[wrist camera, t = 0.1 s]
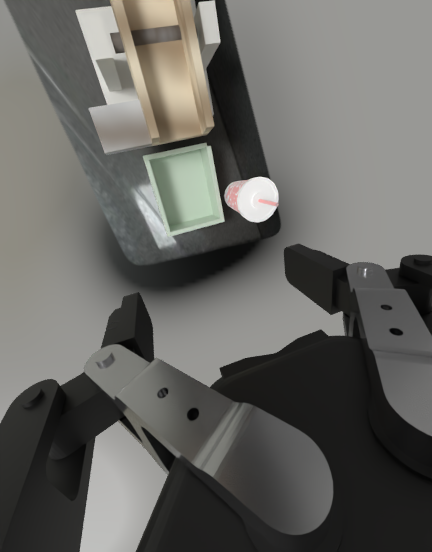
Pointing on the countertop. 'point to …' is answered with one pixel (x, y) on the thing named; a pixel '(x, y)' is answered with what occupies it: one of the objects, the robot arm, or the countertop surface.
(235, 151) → the countertop surface
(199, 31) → the pivot stand
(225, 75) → the countertop surface
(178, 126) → the tipping chute
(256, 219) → the beverage cup
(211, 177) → the cup
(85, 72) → the countertop surface
